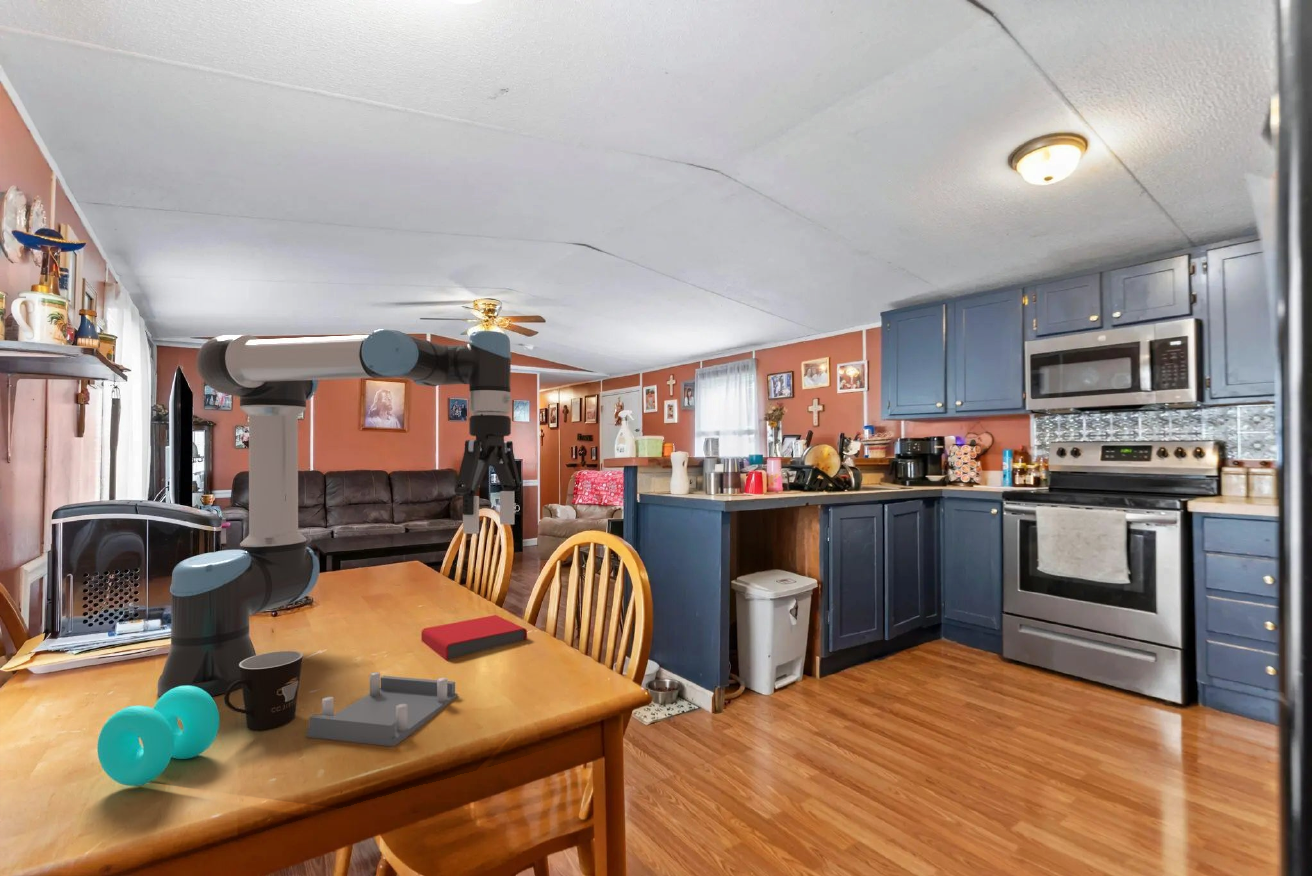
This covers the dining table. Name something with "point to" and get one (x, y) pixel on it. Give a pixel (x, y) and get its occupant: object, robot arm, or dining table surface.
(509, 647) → the dining table surface
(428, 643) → the red device housing
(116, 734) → the donuts
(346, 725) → the pin tray
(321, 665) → the dining table surface
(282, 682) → the coffee mug
